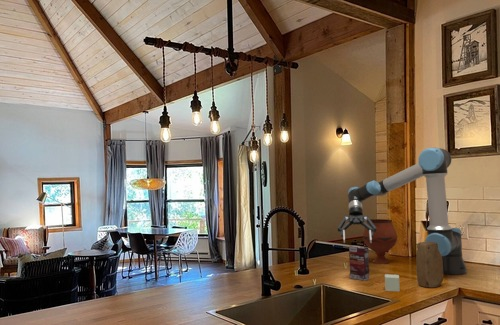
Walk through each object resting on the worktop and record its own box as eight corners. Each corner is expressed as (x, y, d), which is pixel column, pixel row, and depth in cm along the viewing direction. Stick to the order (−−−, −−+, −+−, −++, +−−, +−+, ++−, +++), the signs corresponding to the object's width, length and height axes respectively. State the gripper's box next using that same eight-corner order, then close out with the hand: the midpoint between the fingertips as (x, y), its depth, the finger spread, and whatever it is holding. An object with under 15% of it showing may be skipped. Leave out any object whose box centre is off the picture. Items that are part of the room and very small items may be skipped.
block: (426, 288, 185) (424, 244, 186) (415, 284, 192) (413, 241, 193) (446, 286, 188) (444, 242, 189) (434, 282, 196) (432, 240, 196)
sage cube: (399, 288, 188) (398, 274, 188) (399, 291, 182) (399, 278, 182) (385, 287, 190) (384, 274, 190) (385, 290, 184) (384, 277, 184)
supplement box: (349, 278, 208) (348, 246, 208) (354, 276, 211) (353, 245, 212) (365, 281, 202) (364, 248, 203) (370, 279, 205) (368, 246, 206)
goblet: (359, 259, 253) (357, 219, 254) (389, 258, 255) (387, 217, 256) (371, 266, 234) (369, 222, 235) (403, 264, 236) (402, 221, 237)
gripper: (378, 214, 233) (381, 245, 217) (333, 214, 238) (333, 245, 223) (378, 205, 228) (382, 237, 212) (332, 206, 233) (333, 236, 218)
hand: (357, 241), depth 217 cm, fingers open, 13 cm apart
